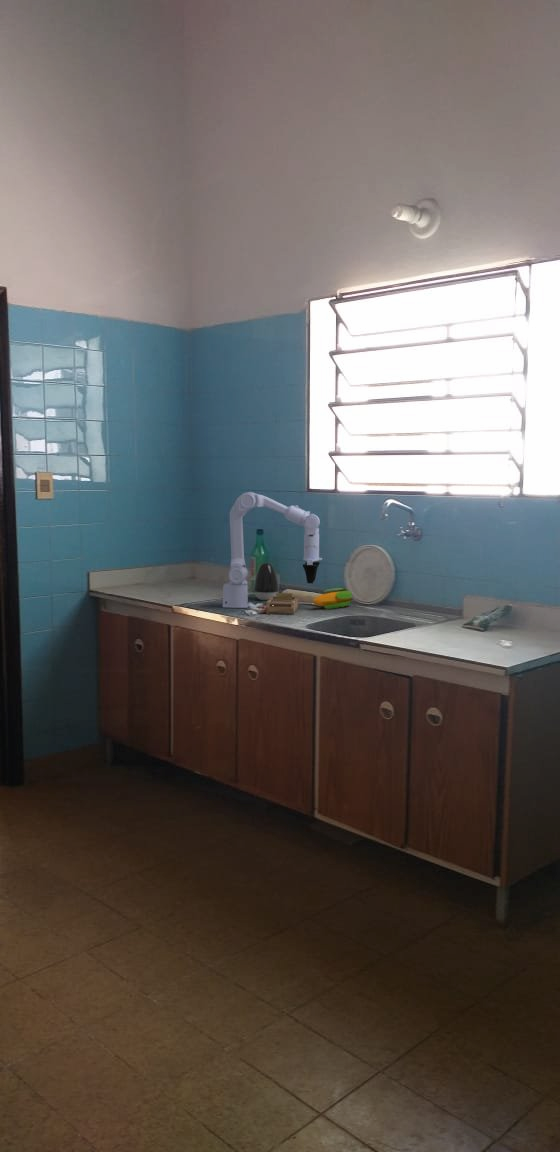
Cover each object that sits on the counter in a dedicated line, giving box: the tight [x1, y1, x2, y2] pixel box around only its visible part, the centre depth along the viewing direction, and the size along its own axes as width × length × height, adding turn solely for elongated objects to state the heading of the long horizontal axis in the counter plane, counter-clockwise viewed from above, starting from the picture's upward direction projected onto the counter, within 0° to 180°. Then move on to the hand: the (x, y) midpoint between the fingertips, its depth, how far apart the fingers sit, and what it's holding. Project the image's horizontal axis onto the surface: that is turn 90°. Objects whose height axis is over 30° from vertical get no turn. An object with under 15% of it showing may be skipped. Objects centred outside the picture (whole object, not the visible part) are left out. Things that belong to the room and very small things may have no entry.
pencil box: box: [265, 596, 299, 616], centre depth 342 cm, size 16×10×4 cm, turn 173°
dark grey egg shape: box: [253, 561, 280, 601], centre depth 371 cm, size 10×10×15 cm
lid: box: [270, 592, 294, 606], centre depth 342 cm, size 14×7×3 cm, turn 173°
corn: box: [312, 587, 353, 610], centre depth 351 cm, size 7×8×20 cm
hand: (311, 582), depth 348 cm, fingers open, 7 cm apart
